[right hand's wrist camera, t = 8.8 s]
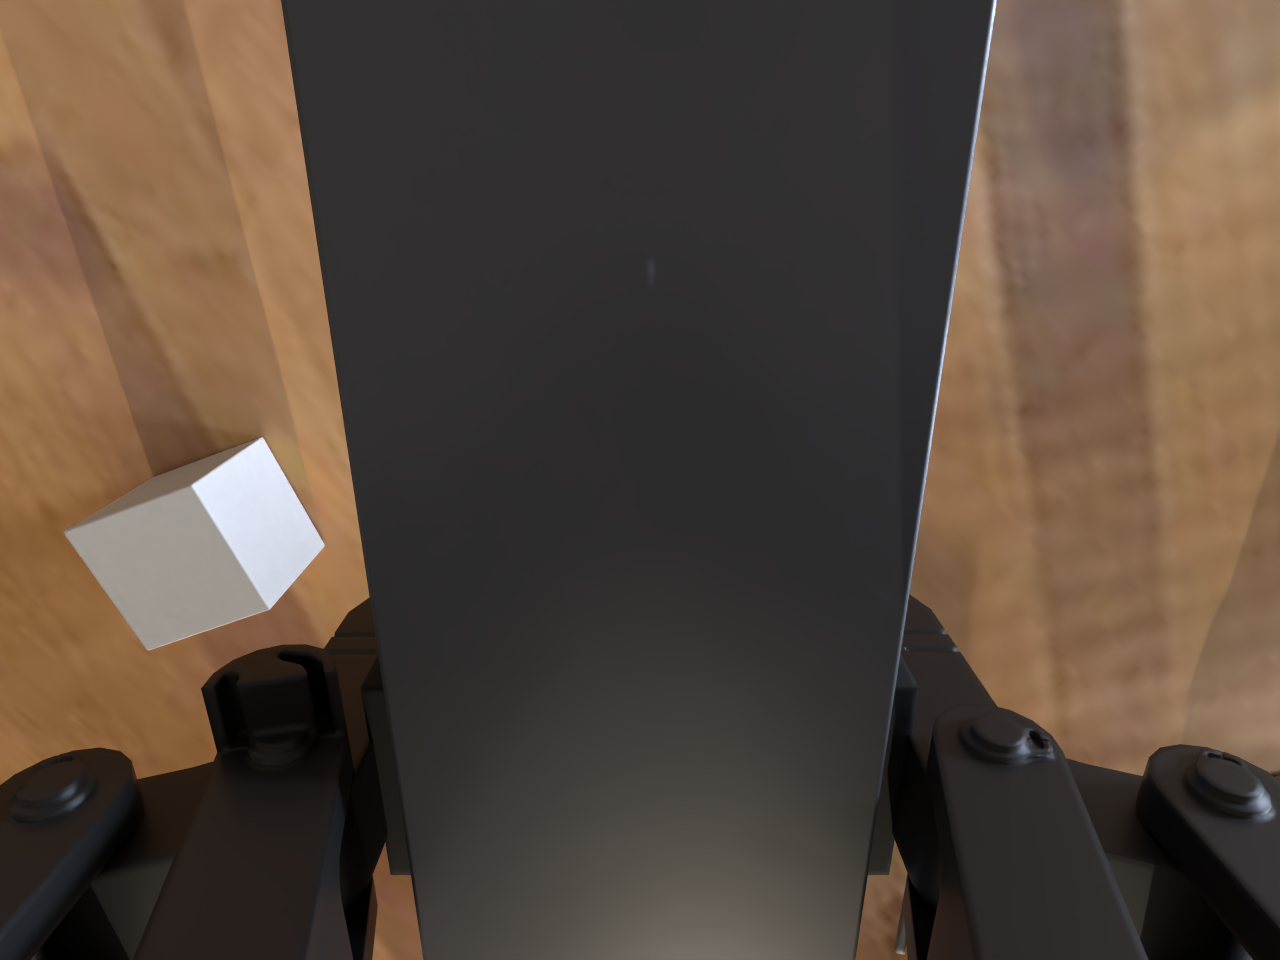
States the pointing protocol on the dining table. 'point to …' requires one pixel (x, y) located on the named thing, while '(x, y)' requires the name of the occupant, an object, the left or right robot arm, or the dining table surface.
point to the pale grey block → (199, 544)
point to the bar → (639, 440)
